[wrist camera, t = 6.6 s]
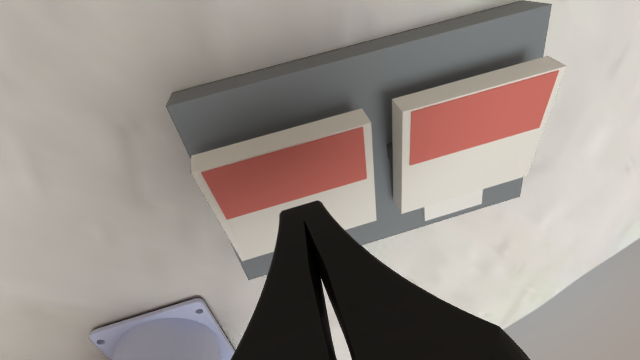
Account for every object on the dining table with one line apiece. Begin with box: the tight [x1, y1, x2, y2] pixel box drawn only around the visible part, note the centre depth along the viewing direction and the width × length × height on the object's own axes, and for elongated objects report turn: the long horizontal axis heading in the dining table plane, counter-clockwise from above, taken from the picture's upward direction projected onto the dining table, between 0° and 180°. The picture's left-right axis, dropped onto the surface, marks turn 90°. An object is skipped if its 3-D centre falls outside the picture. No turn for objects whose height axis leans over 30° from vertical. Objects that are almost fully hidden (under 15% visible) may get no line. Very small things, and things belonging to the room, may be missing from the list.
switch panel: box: [166, 1, 552, 280], centre depth 20 cm, size 12×19×3 cm, turn 101°
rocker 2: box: [392, 56, 566, 214], centre depth 18 cm, size 7×8×1 cm
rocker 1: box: [191, 108, 376, 261], centre depth 18 cm, size 7×8×1 cm
